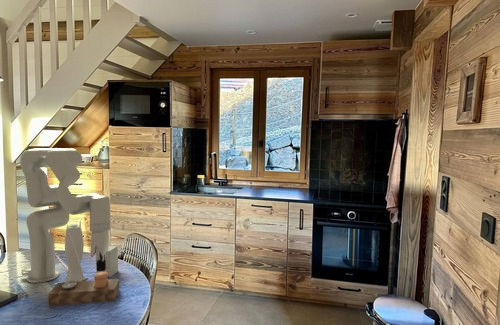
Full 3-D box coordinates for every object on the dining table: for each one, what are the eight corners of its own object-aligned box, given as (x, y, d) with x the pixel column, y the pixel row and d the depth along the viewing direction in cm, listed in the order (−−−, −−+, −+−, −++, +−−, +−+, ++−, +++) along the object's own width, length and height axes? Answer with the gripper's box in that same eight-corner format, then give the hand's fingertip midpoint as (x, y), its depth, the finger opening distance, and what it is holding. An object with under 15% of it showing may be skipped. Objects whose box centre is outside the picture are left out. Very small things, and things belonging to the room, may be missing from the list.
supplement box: (118, 271, 160) (118, 245, 159) (110, 277, 153) (110, 251, 152) (104, 270, 161) (104, 245, 160) (95, 276, 153) (95, 250, 153)
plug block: (48, 306, 126) (48, 294, 125) (58, 294, 135) (58, 282, 135) (114, 301, 130) (114, 289, 130) (119, 290, 140) (119, 278, 140)
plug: (60, 302, 129) (59, 287, 128) (65, 296, 134) (64, 281, 133) (74, 301, 130) (74, 286, 129) (78, 295, 135) (78, 280, 134)
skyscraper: (90, 279, 150) (88, 219, 148) (75, 286, 143) (74, 223, 141) (75, 276, 153) (74, 218, 151) (60, 283, 145) (59, 222, 143)
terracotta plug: (92, 292, 131) (92, 277, 130) (96, 286, 136) (96, 272, 135) (106, 291, 132) (106, 276, 131) (109, 285, 137) (109, 271, 136)
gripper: (95, 222, 138) (96, 264, 140) (84, 231, 124) (85, 278, 125) (114, 221, 140) (114, 263, 141) (105, 230, 125) (106, 277, 126)
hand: (101, 270), depth 133 cm, fingers closed
